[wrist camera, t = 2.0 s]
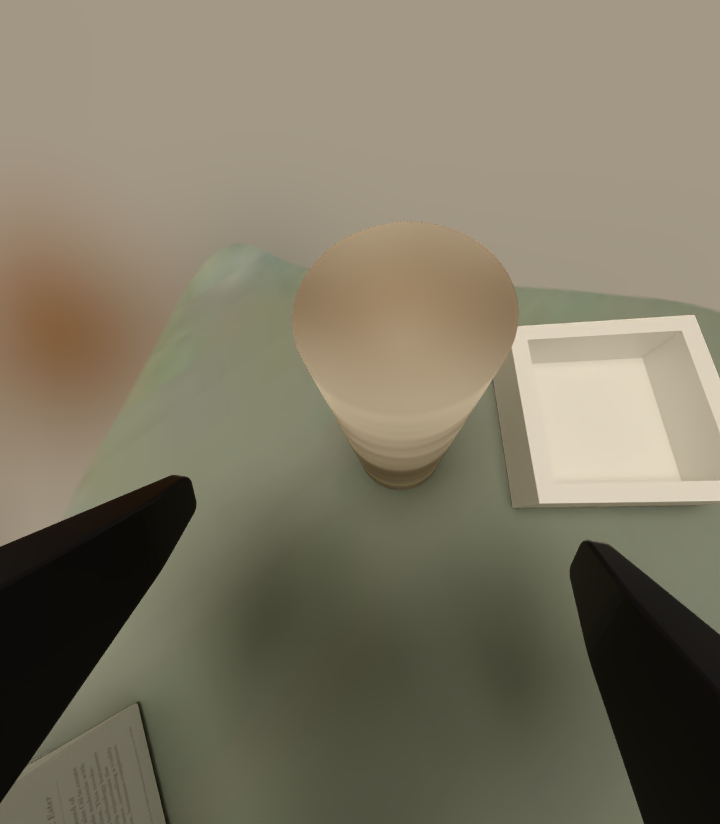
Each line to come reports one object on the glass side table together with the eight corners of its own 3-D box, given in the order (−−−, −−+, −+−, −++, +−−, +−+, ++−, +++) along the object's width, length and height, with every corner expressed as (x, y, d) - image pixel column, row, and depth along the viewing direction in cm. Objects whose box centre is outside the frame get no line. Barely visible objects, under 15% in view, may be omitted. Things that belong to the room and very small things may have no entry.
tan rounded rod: (442, 488, 18) (538, 406, 6) (359, 490, 18) (285, 417, 6) (435, 410, 19) (500, 212, 7) (359, 413, 20) (297, 231, 8)
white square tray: (693, 505, 16) (767, 500, 13) (512, 508, 17) (539, 503, 14) (643, 351, 19) (694, 314, 16) (489, 359, 20) (508, 327, 17)
